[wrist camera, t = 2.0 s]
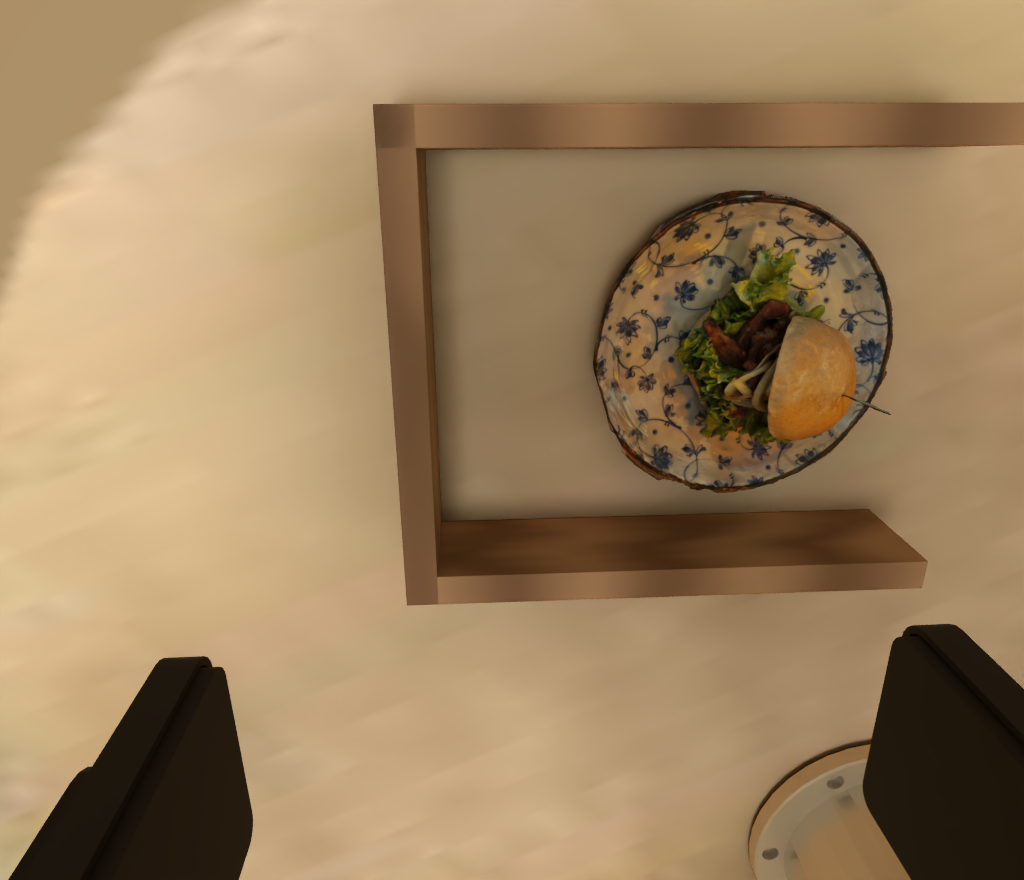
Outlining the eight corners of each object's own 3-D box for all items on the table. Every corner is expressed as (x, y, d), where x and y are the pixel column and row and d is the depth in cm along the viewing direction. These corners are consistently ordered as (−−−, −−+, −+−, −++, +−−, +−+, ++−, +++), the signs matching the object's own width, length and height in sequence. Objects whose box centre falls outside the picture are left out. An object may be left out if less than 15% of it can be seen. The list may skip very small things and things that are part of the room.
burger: (693, 130, 27) (771, 120, 20) (932, 285, 29) (1076, 324, 22) (532, 404, 30) (550, 478, 23) (758, 521, 33) (836, 618, 26)
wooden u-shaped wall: (945, 111, 27) (1033, 102, 22) (864, 533, 33) (921, 588, 29) (389, 113, 26) (372, 104, 21) (415, 546, 32) (407, 605, 28)
